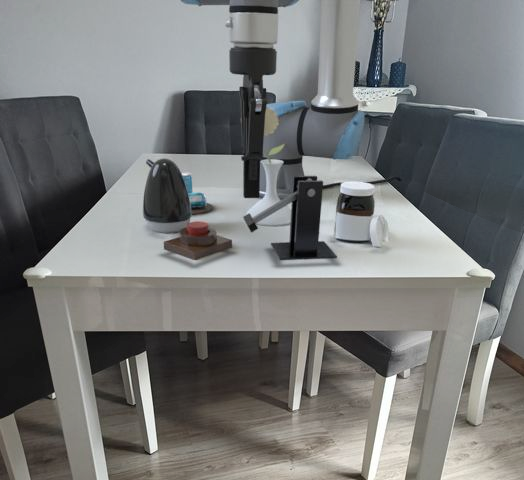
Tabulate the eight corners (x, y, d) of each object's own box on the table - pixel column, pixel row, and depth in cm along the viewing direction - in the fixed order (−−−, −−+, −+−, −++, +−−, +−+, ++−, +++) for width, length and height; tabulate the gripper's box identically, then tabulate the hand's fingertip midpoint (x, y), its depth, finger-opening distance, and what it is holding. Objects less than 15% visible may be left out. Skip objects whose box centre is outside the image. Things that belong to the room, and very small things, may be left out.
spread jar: (332, 233, 115) (338, 178, 109) (384, 236, 114) (392, 181, 109) (333, 251, 105) (339, 192, 99) (390, 254, 104) (399, 195, 98)
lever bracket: (279, 266, 97) (283, 184, 90) (270, 249, 105) (273, 173, 97) (336, 264, 99) (344, 184, 91) (323, 248, 106) (330, 173, 99)
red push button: (198, 229, 102) (197, 220, 101) (212, 233, 100) (212, 224, 99) (182, 233, 99) (182, 224, 98) (197, 238, 97) (197, 228, 96)
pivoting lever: (252, 235, 95) (246, 223, 93) (247, 225, 100) (241, 214, 99) (321, 194, 93) (315, 182, 92) (312, 186, 98) (307, 175, 97)
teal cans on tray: (205, 200, 136) (204, 169, 132) (218, 213, 127) (217, 179, 123) (159, 203, 132) (157, 171, 128) (168, 216, 123) (166, 182, 119)
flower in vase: (300, 220, 123) (307, 103, 111) (287, 234, 114) (293, 108, 101) (247, 214, 127) (249, 100, 114) (231, 227, 117) (230, 104, 105)
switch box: (201, 243, 107) (201, 221, 105) (232, 253, 103) (232, 230, 100) (164, 255, 100) (162, 232, 98) (195, 266, 96) (194, 242, 94)
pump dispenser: (169, 222, 119) (165, 152, 111) (202, 232, 113) (200, 158, 106) (134, 232, 112) (126, 158, 104) (166, 243, 106) (161, 165, 99)
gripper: (224, 45, 87) (226, 188, 99) (234, 46, 76) (235, 207, 88) (268, 46, 89) (265, 187, 101) (285, 47, 77) (278, 206, 90)
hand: (251, 196), depth 94 cm, fingers closed
